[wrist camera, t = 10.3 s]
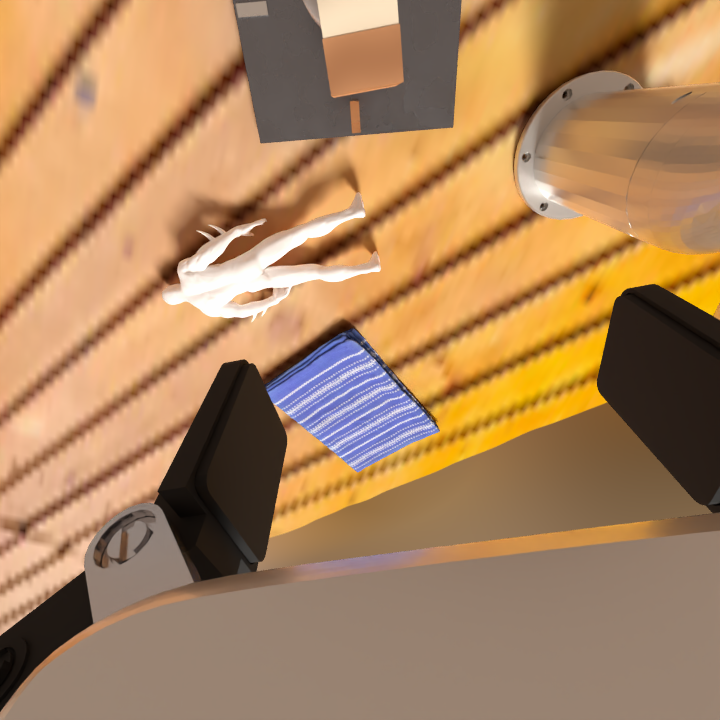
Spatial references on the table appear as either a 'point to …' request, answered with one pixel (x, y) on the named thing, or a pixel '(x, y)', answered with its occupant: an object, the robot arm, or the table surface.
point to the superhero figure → (258, 267)
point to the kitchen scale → (310, 78)
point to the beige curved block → (359, 44)
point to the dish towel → (351, 401)
